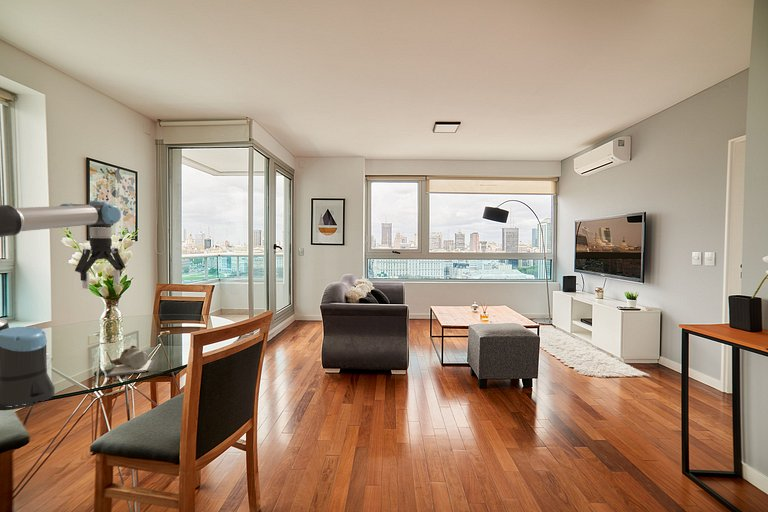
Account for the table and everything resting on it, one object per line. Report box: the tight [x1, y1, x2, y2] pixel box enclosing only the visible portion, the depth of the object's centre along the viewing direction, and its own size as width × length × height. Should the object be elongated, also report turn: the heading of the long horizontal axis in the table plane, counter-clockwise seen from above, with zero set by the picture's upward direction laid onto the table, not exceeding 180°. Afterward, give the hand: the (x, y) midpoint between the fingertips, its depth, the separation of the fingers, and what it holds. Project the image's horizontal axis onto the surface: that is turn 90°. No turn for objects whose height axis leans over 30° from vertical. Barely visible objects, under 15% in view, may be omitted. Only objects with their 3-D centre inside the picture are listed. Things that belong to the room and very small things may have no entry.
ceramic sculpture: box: [109, 345, 149, 369], centre depth 151 cm, size 11×9×15 cm
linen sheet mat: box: [105, 359, 155, 378], centre depth 151 cm, size 14×14×1 cm
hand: (101, 286), depth 161 cm, fingers open, 13 cm apart
